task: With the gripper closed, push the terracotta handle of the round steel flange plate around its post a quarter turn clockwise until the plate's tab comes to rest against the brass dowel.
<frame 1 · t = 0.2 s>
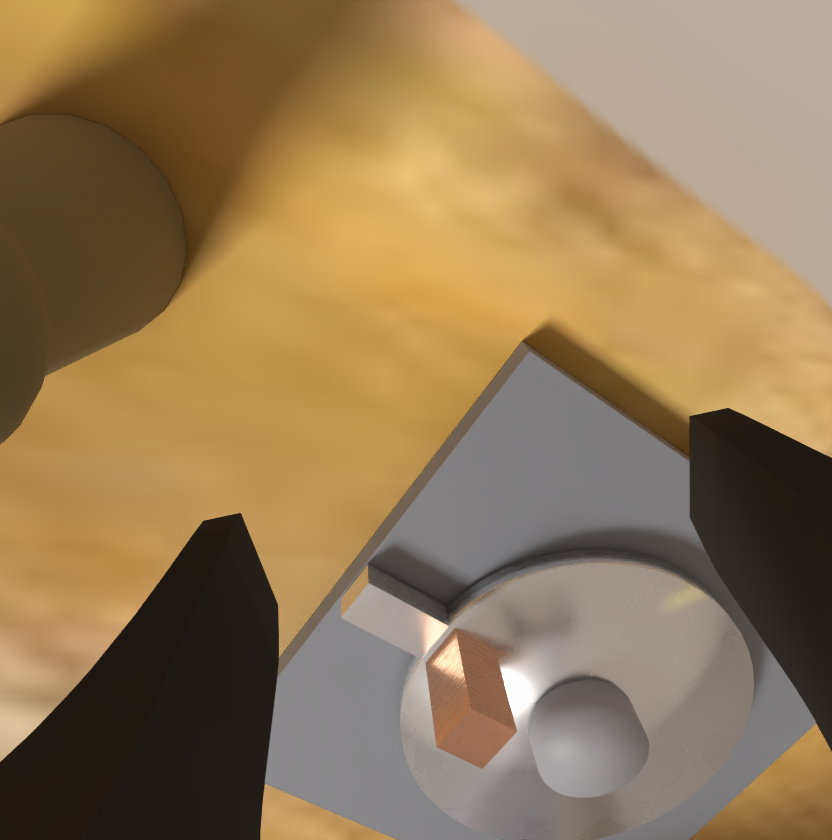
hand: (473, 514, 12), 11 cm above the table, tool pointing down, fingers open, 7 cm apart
cork: (73, 233, 20), on the table
turntable base: (562, 672, 27), on the table
flange plate: (554, 728, 23), point 3 cm above the table, hinge at 0.0°
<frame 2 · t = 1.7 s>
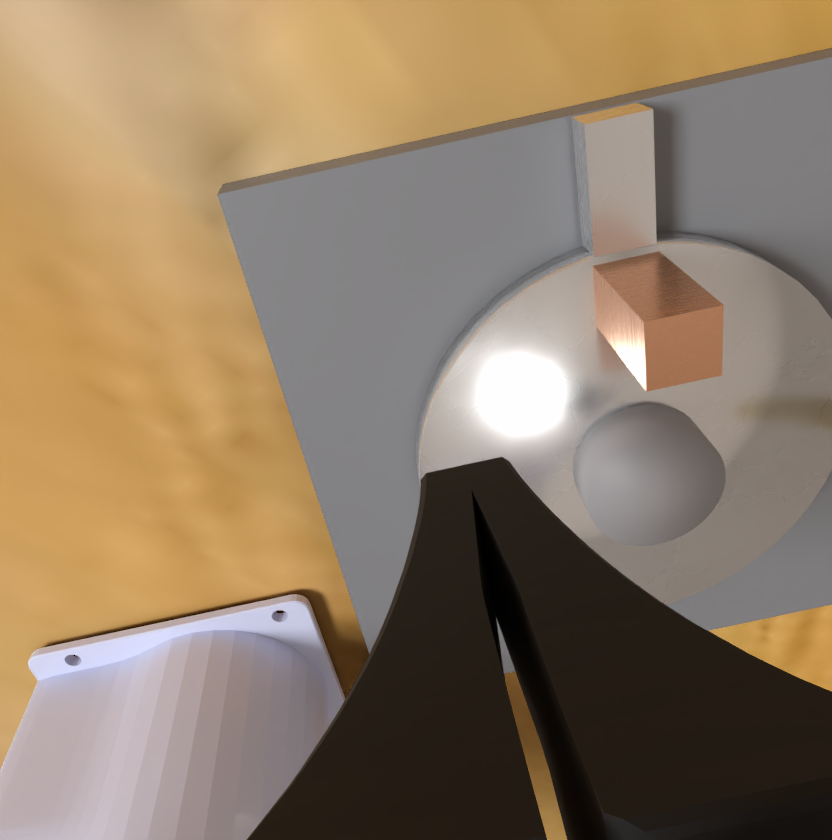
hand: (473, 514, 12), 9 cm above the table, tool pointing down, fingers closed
turntable base: (610, 417, 22), on the table
flange plate: (649, 435, 19), point 3 cm above the table, hinge at 0.0°
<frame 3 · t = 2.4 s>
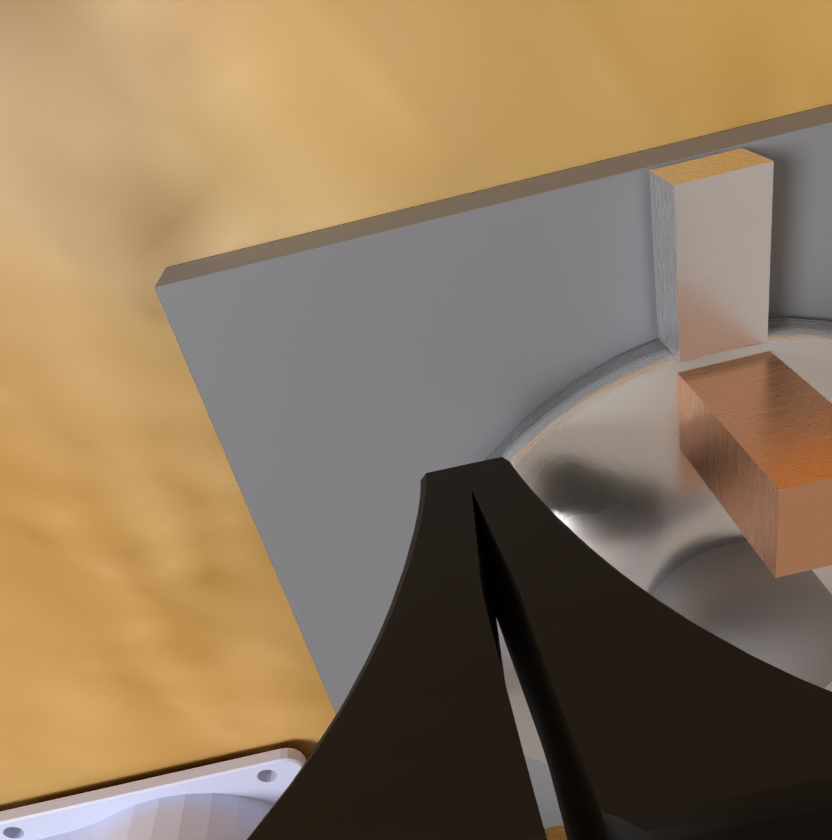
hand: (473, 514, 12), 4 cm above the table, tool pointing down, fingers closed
turntable base: (681, 535, 18), on the table
flange plate: (752, 591, 14), point 3 cm above the table, hinge at 0.0°
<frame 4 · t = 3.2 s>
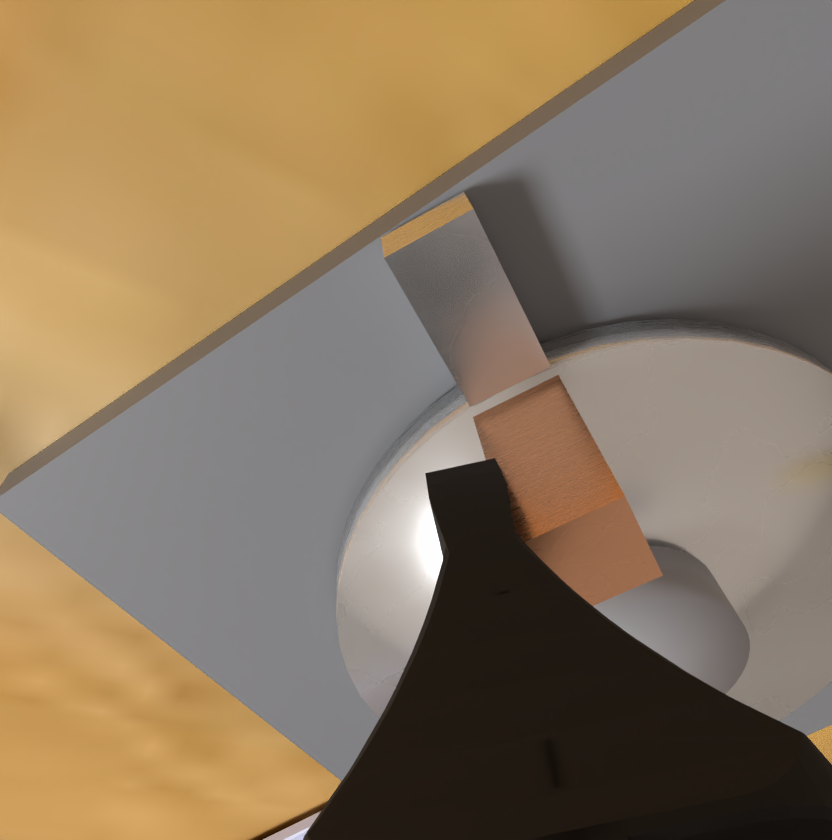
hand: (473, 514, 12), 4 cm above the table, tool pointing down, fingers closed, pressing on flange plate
turntable base: (596, 538, 17), on the table
flange plate: (622, 604, 14), point 3 cm above the table, hinge at -5.4°, touching gripper
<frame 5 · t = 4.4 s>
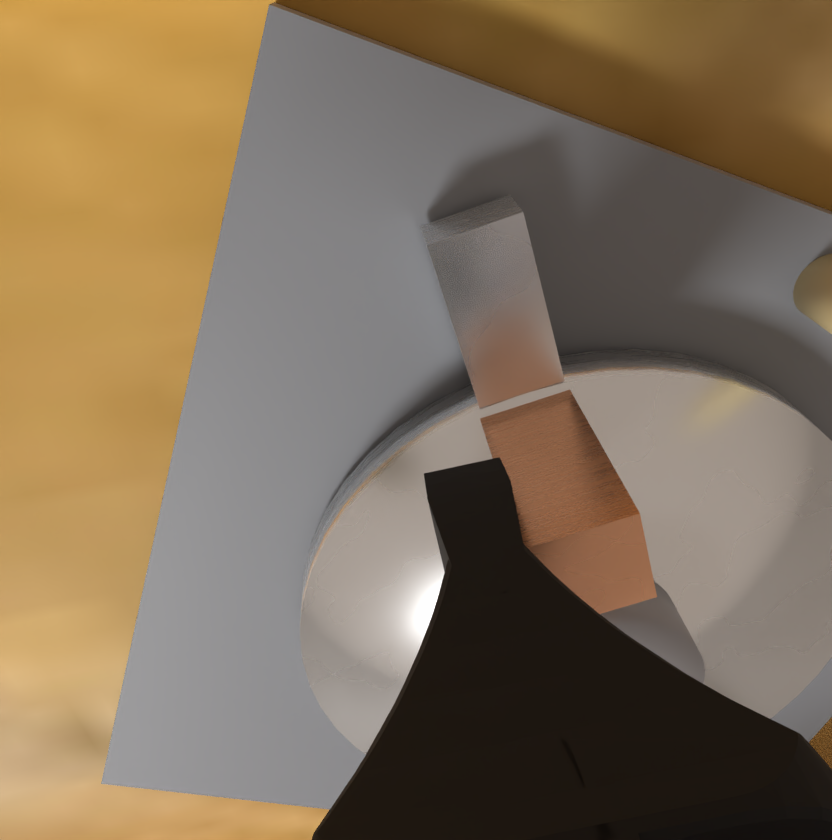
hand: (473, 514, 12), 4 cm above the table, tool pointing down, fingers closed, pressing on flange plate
turntable base: (561, 558, 18), on the table
flange plate: (591, 623, 14), point 3 cm above the table, hinge at -53.2°, touching gripper
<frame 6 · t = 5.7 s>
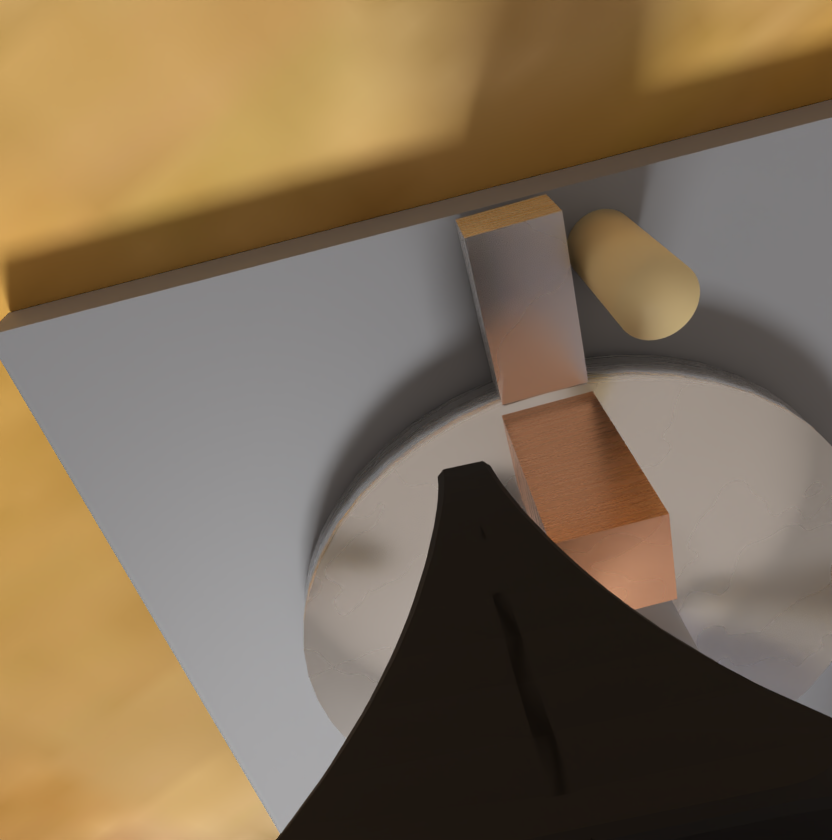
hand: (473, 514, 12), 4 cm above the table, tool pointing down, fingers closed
turntable base: (563, 562, 18), on the table
flange plate: (598, 626, 14), point 3 cm above the table, hinge at -88.7°, touching gripper
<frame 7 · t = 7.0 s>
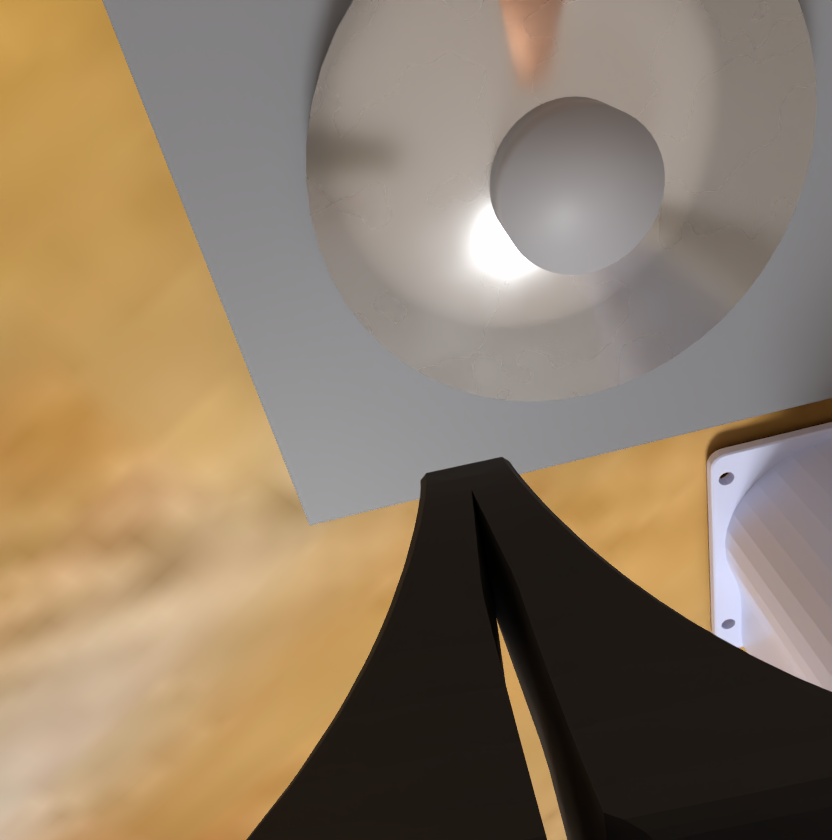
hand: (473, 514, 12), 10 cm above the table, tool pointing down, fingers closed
turntable base: (541, 158, 19), on the table
flange plate: (568, 120, 16), point 3 cm above the table, hinge at -88.9°
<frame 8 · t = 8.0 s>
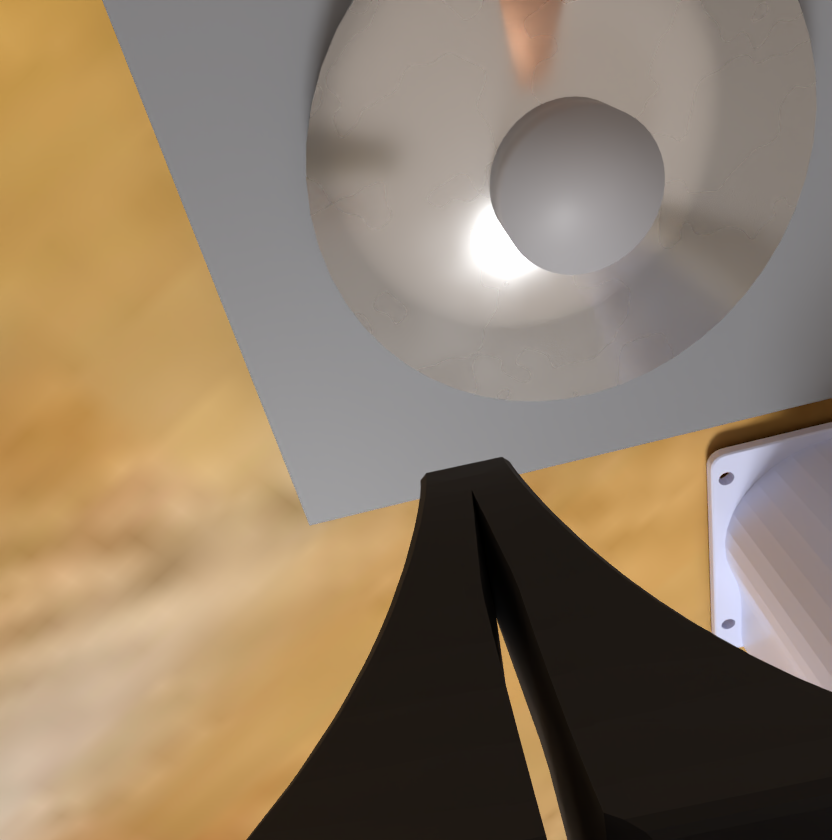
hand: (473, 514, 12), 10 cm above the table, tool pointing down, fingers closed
turntable base: (541, 158, 19), on the table
flange plate: (568, 120, 16), point 3 cm above the table, hinge at -88.9°
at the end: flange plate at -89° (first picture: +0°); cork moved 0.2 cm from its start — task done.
